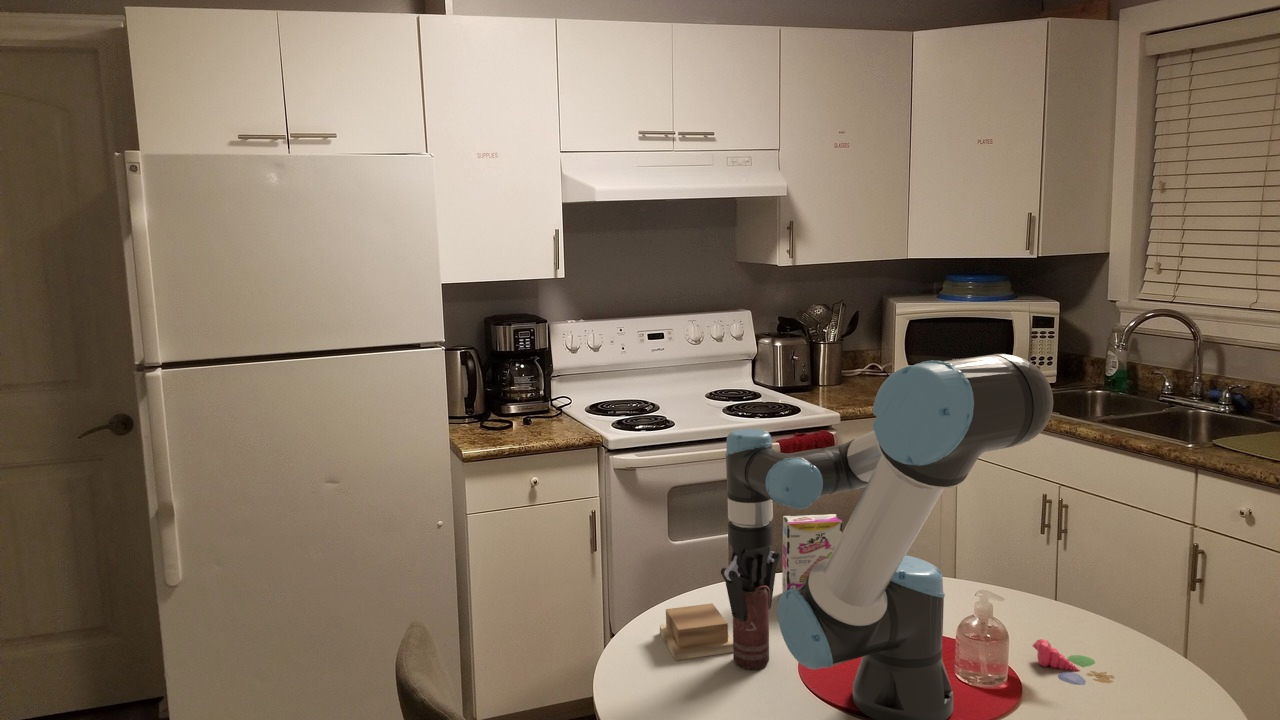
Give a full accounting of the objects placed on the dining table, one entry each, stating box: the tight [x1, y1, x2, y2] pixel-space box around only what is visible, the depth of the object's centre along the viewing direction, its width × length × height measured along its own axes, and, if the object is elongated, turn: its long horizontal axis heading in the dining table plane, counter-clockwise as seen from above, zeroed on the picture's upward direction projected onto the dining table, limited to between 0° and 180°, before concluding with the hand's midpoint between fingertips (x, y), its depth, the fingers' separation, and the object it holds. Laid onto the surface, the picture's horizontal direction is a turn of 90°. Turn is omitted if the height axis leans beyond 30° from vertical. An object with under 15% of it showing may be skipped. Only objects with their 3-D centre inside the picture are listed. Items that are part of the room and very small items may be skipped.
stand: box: [659, 603, 733, 661], centre depth 166 cm, size 11×11×5 cm
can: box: [732, 583, 770, 671], centre depth 157 cm, size 6×6×14 cm
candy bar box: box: [781, 513, 843, 593], centre depth 184 cm, size 11×5×16 cm, turn 94°
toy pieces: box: [1032, 638, 1115, 686], centre depth 152 cm, size 12×11×4 cm
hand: (752, 653), depth 158 cm, fingers closed
